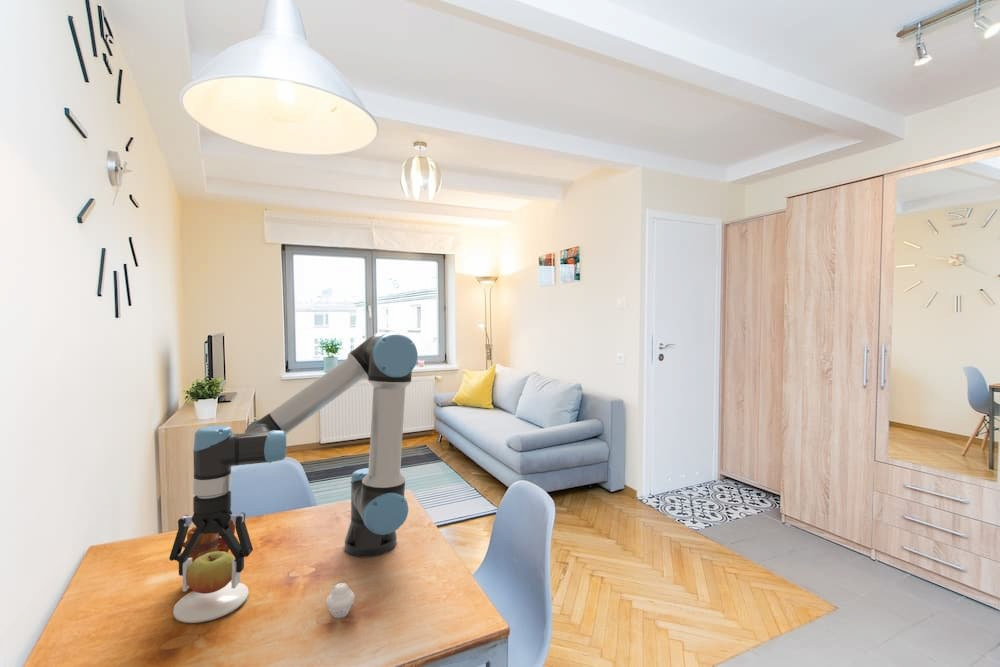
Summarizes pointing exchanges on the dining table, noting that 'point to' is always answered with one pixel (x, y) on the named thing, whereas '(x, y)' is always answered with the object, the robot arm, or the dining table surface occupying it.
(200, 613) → the plate
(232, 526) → the mug
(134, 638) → the dining table surface
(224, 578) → the apple
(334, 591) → the white rounded piece
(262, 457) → the robot arm
